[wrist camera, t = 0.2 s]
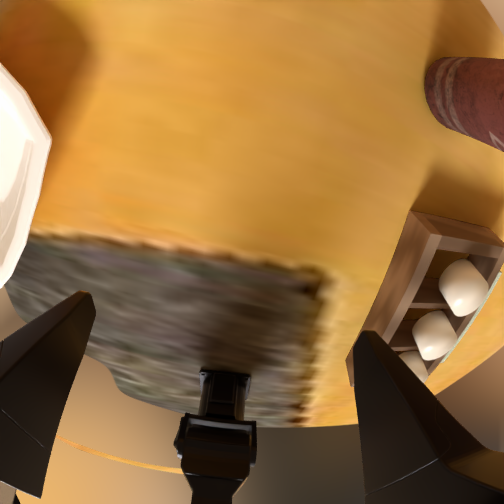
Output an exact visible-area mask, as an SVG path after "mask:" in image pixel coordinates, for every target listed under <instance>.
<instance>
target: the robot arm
mask: <svg viewBox="0 0 504 504" xmlns="http://www.w3.org/2000/svg"><path fill="white" fill-rule="evenodd" d="M95 316H96V310H95V306H94V303H93V299H92V296H91V294H90V293H89V292H85V291H78V292H76V293H74V294H73V295H71V296H70V297H68V298H66V299H65V300H63V301H61V302H60V303H58V304H57V305H55V306H54V307H52V308H50V309H49V310H47V311H46V312H44V313H43V314H41V315H40V316H38V317H37V318H35V319H33V320H32V321H30V322H29V323H27V324H26V325H25V326H23V327H22V328H20V329H18V330H17V331H15V332H14V333H13V334H11V335H10V336H8V337H7V338H5V339H4V341H3V340H2V341H1V342H0V504H20V502H19V499H18V497H17V495H16V494H15V493H16V490H17V489H18V490H20V491H23V492H25V493H27V494H29V495H32V496H34V497H37V498H39V499H40V498H41V496H42V491H43V485H44V481H45V476H46V472H47V467H48V463H49V459H50V455H51V451H52V447H53V443H54V439H55V436H56V433H57V429H58V426H59V422H60V419H61V416H62V413H63V410H64V407H65V404H66V401H67V398H68V395H69V392H70V389H71V387H72V384H73V381H74V379H75V376H76V373H77V371H78V368H79V366H80V363H81V360H82V358H83V355H84V352H85V349H86V346H87V342H88V339H89V336H90V332H91V329H92V326H93V323H94V320H95ZM353 370H354V392H355V400H356V407H357V415H358V423H359V432H360V440H361V451H362V463H363V476H364V491H365V504H504V453H503V452H498V451H493V450H490V449H488V448H486V447H485V446H483V445H482V444H481V443H480V442H479V441H478V440H477V439H476V438H475V437H473V435H472V434H471V433H469V432H468V431H467V430H466V429H465V428H464V427H463V426H462V425H461V424H460V423H459V422H458V421H457V420H456V419H455V418H454V417H453V416H452V415H451V413H450V412H449V411H448V410H447V409H446V408H445V407H444V406H443V405H442V404H441V402H440V401H439V400H437V398H436V397H435V396H434V394H433V393H432V392H431V391H430V390H429V389H428V388H427V387H426V385H425V384H424V383H423V382H422V381H421V380H420V379H419V378H418V377H417V375H416V374H415V373H414V372H413V371H412V370H411V369H410V368H409V367H408V366H407V364H406V363H405V362H404V361H403V360H402V359H401V358H400V357H399V356H398V355H397V354H396V353H395V351H394V350H393V349H392V348H391V347H390V346H389V345H388V344H387V343H386V342H385V341H384V340H383V339H382V337H381V336H380V335H379V334H378V333H377V332H376V331H374V330H363V331H362V332H361V333H360V335H359V337H358V339H357V341H356V342H355V344H354V346H353ZM199 377H200V387H201V400H200V406H199V412H198V415H194V414H190V413H185V417H182V418H181V421H180V426H179V430H178V433H177V435H176V438H175V440H174V446H175V448H176V449H177V455H178V458H181V468H182V471H183V474H184V476H185V478H186V480H187V482H188V484H189V486H190V488H191V490H192V492H193V493H192V501H191V504H232V498H233V496H234V495H235V494H236V493H237V492H238V490H239V489H240V488H241V487H242V485H243V484H244V483H245V481H246V479H247V477H248V475H249V472H250V467H254V466H255V461H256V452H257V434H256V421H244V409H245V400H246V399H247V396H248V391H249V385H250V379H251V376H250V375H247V374H236V373H226V372H217V371H208V370H200V373H199Z"/></svg>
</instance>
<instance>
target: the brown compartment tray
mask: <svg viewBox="0 0 504 504" xmlns="http://www.w3.org/2000/svg"><path fill="white" fill-rule="evenodd" d="M436 249H441V250H448V251H454V252H461V253H467V254H470V255H469V257H468V260H469V261H470V262H471V263H472V264H473V265H474V267H475V268H476V269H477V270H478V271H479V273H480V274H481V275H482V276H483V278H484V279H485V280H486V281H487V283H488V286H489V289H490V287H491V286H492V284H493V282H494V280H495V278H496V276H497V274H498V273H499V271H500V269H501V267H502V265H503V263H504V242H503V241H502V240H501V239H499V238H498V237H497V236H496V235H495V234H494V233H493V232H492V231H491V230H490V229H489V228H486V227H482V226H478V225H474V224H470V223H466V222H462V221H457V220H453V219H448V218H444V217H439V216H435V215H430V214H425V213H420V212H415V211H410V210H409V213H408V216H407V219H406V222H405V225H404V228H403V231H402V234H401V237H400V239H399V242H398V245H397V248H396V250H395V253H394V256H393V258H392V261H391V263H390V266H389V268H388V271H387V273H386V276H385V278H384V280H383V283H382V285H381V287H380V290H379V292H378V294H377V297H376V299H375V301H374V303H373V306H372V308H371V310H370V312H369V314H368V316H367V318H366V321H365V323H364V325H363V327H362V329H361V331H360V333H361V332H362V331H363V330H374V331H376V332H377V333H378V334H379V335H380V336H381V337H382V339H383V340H384V341H385V342H386V343H387V344H388V345H389V346H390V347H391V348H392V349H393V350H394V351H406V350H415V351H418V352H419V353H420V351H419V349H418V346H417V344H416V341H415V339H414V337H413V334H412V329H413V327H414V325H415V323H416V322H417V321H418V320H402V319H403V317H404V315H405V314H406V312H407V310H408V308H442V309H441V311H443V312H444V313H445V315H446V317H447V318H448V320H449V322H450V324H451V326H452V327H453V329H454V331H455V333H456V335H457V339H458V338H459V336H460V335H461V334H462V332H463V331H464V329H465V328H466V326H467V325H468V323H469V322H470V320H471V319H472V317H473V316H474V314H475V313H476V311H477V309H478V308H479V307H478V308H477V309H476V310H475V311H473V312H472V313H470V314H468V315H466V316H456V315H455V314H454V313H453V311H452V309H451V308H450V306H449V305H448V303H447V301H446V300H445V298H444V296H443V295H442V293H441V292H440V290H439V280H440V279H438V278H425V277H424V276H425V274H426V272H427V270H428V268H429V265H430V263H431V261H432V259H433V256H434V254H435V252H436ZM489 289H488V291H489ZM360 333H359V335H360ZM359 335H358V337H359ZM358 337H357V339H358ZM357 339H356V341H357ZM356 341H355V342H356ZM354 344H355V343H354ZM353 346H354V345H353ZM448 352H449V351H448ZM448 352H447V353H448ZM447 353H446V354H447ZM396 354H397V355H400V354H402V353H396ZM446 354H444V355H443V356H441V357H439V358H437V359H434V360H424V359H423V358H422V360H423V362H424V365H425V368H426V370H427V373H428V376H429V375H430V374H431V373H432V372H433V371H434V369H435V368H436V367H437V366H438V364H439V363H440V362H441V361H442V359H443V358H444V357H445V355H446ZM420 355H421V353H420ZM421 357H422V356H421ZM345 361H346V366H347V371H348V376H349V380H350V386H351V387H354V370H353V347H352V348H351V350H350V352H349V354H348V356H347V358H346V360H345Z"/></svg>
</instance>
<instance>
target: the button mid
mask: <svg viewBox="0 0 504 504" xmlns="http://www.w3.org/2000/svg"><path fill="white" fill-rule="evenodd" d="M412 334H413V337H414V339H415V341H416V344H417V346H418V349H419V351H420V353H421V356H422V358H423V359H424V360H434V359H437V358H439V357H441V356H443V355H444V354H446V353H447V352H448V351H450V350H451V349H452V347H453V346H454V345H455V343H456V341H457V335H456V333H455V331H454V329H453V327H452V326H451V324H450V322H449V320H448V318H447V317H446V315H445V313H444V312H443V311H440V310H436V311H432V312H429V313H427V314H425V315H424V316H422V317H421V318H420V319H419V320H418V321H417V322H416V323H415V325H414V327H413V329H412Z"/></svg>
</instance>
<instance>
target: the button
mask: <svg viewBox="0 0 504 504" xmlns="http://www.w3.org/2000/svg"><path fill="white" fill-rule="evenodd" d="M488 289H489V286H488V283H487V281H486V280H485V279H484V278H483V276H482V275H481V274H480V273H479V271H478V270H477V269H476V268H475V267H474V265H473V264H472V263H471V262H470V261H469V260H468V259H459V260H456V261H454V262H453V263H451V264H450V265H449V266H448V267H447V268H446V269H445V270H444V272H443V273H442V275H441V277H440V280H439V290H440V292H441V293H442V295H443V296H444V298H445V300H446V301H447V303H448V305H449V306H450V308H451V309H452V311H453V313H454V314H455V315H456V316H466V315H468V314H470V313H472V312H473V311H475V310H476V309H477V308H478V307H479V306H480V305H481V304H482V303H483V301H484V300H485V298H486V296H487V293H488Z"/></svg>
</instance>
